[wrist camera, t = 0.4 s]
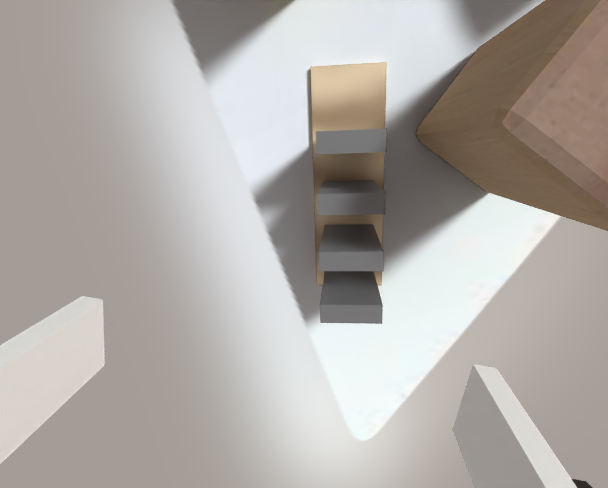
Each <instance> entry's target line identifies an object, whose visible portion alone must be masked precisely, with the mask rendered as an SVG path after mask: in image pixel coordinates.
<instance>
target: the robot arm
mask: <svg viewBox="0 0 608 488" xmlns="http://www.w3.org/2000/svg"><path fill="white" fill-rule="evenodd" d="M104 365H105V360H104V327H103V300H102V299H96V298H90V297H85V296H82V297H80V298H78V299H77V300H75V301H74V302H72V303H70V304H68V305H67V306H65V307H64V308H62V309H60V310H58V311H57V312H55V313H53V314H52V315H50V316H49V317H47V318H45V319H44V320H42V321H40V322H38V323H37V324H35V325H33V326H32V327H30V328H29V329H27V330H25V331H23V332H22V333H20V334H18V335H17V336H15V337H14V338H12V339H10V340H8V341H7V342H5V343H4V344H2V345H1V346H0V464H1V463H2V462H3V461H4V460H5V459H6V458H7V457H8V456H9V455H10V454H11V453H12V452H13V451H14V450H15V449H17V448H18V447H19V446H20V445H21V444H22V443H23V442H24V441H25V440H26V439H27V438H28V437H29V436H30V435H31V434H32V433H33V432H34V431H35V430H37V429H38V428H39V427H40V426H41V425H42V424H43V423H44V422H45V421H46V420H47V419H48V418H49V417H50V416H51V415H52V414H53V413H55V412H56V411H57V409H59V408H60V407H61V406H62V405H63V404H64V403H65V402H66V401H67V400H68V399H69V398H70V397H71V396H72V395H74V394H75V392H77V391H78V390H79V389H80V388H81V387H82V386H83V385H84V384H85V383H86V382H87V381H88V380H89V379H90V378H91V377H92V376H94V375H95V374H96V373H97V372H98V371H99V370H100V369H101V368H102V367H103V366H104ZM453 432H454V435H455V437H456V440H457V442H458V445H459V448H460V450H461V453H462V456H463V458H464V461H465V463H466V466H467V468H468V471H469V474H470V476H471V479H472V482H473V484H474V487H475V488H592V487H591V486H590V485H589V484H588V483H587V482H586V481H581V480H575V479H571V478H570V476H569V475H568V473H567V472H566V471H565V469H564V467H563V466H562V465H561V463H560V462H559V460H558V459H557V457H556V456H555V454H554V453H553V451H552V450H551V448H550V447H549V446H548V444H547V442H546V441H545V439H544V438H543V436H542V435H541V434H540V432H539V431H538V429H537V428H536V426H535V425H534V423H533V422H532V420H531V419H530V417H529V416H528V415H527V413H526V411H525V410H524V409H523V407H522V405H521V404H520V403H519V401H518V400H517V398H516V397H515V395H514V394H513V392H512V391H511V389H510V388H509V386H508V385H507V383H506V382H505V380H504V379H503V377H502V376H501V374H500V373H499V372H498V370H497V369H496V368H491V367H485V366H480V365H473V367H472V370H471V373H470V376H469V379H468V382H467V386H466V389H465V392H464V395H463V398H462V401H461V405H460V408H459V411H458V414H457V417H456V421H455V424H454V427H453Z"/></svg>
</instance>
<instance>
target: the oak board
mask: <svg viewBox="0 0 608 488" xmlns="http://www.w3.org/2000/svg"><path fill="white" fill-rule="evenodd" d="M386 63H387V62H380V63H364V64H347V65H331V66H314V67H311V95H312V131H313V167H314V203H315V239H316V275H317V285H323V280H324V272H325V271H319V248H320V244H321V239H322V234H323V230H324V225H335V224H373V225H374V228H375V230H376V233H377V235H378V238H379V241H380V243H381V246H382V238H383V214H369V215H318V204H317V194H318V192H319V190H320V188H321V186H322V184H323V182H324V181H355V180H374V181H375V182H376V183H377V184H378V185H379V186H380V188H381V189H382V190H383V191H384V152H372V153H343V154H316V131H337V130H362V129H385V106H386ZM374 274H375V278H376V282H377V285H381V282H382V271H374Z"/></svg>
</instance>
